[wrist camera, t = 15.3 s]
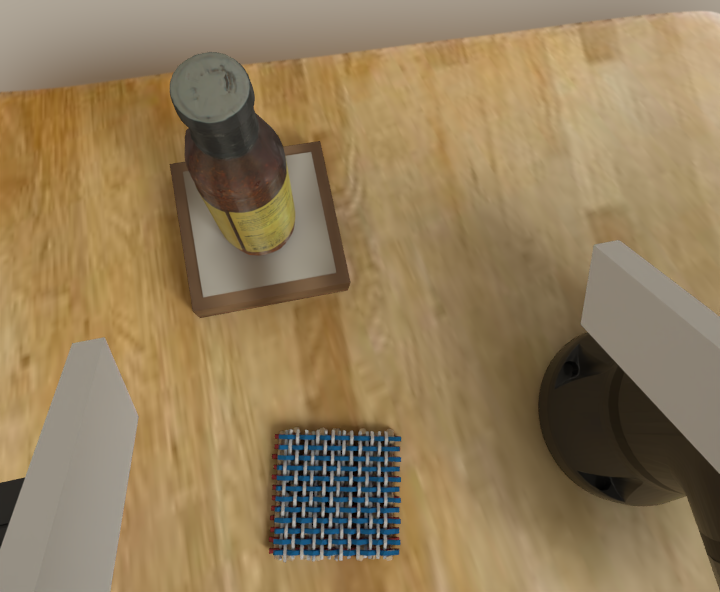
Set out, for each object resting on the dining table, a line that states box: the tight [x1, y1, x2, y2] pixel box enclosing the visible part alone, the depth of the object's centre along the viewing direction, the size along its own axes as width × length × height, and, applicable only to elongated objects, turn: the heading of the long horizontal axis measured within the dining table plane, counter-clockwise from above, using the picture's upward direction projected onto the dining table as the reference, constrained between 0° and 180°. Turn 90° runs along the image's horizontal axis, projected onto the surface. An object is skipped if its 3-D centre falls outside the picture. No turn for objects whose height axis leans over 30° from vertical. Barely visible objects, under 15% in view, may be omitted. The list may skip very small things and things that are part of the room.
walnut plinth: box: [170, 141, 350, 318], centre depth 49 cm, size 13×13×3 cm
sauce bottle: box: [170, 52, 295, 256], centre depth 37 cm, size 7×6×20 cm
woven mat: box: [269, 427, 401, 563], centre depth 46 cm, size 10×11×2 cm
